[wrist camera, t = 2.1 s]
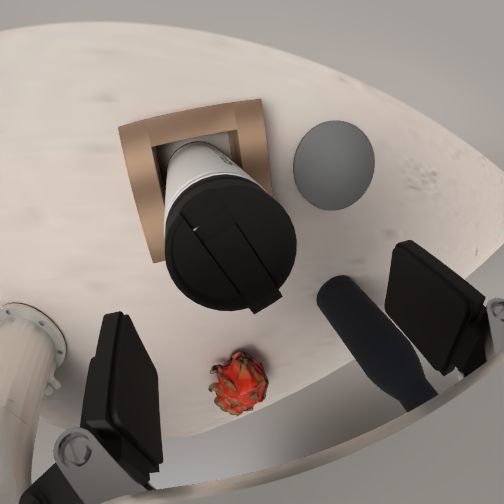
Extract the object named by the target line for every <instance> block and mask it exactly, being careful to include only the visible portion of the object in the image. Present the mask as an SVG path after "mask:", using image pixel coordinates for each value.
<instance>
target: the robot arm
mask: <svg viewBox="0 0 504 504" xmlns="http://www.w3.org/2000/svg"><path fill="white" fill-rule="evenodd" d="M484 300H485V296H483V295H482V294H481V293H480V292H479V291H478V290H476V289H475V288H474V287H473V286H471V285H470V284H469V283H468V282H467V281H465V280H464V279H463V278H462V277H460V276H459V275H458V274H456V273H455V272H454V271H453V270H451V269H450V268H449V267H447V266H446V265H445V264H444V263H442V262H441V261H440V260H438V259H437V258H436V257H434V256H433V255H432V254H430V253H429V252H427V251H426V250H425V249H423V248H422V247H421V246H419V245H418V244H416V243H415V242H414V241H412V240H407V241H404V242H400V243H398V244H396V246H395V248H394V249H393V252H392V260H391V267H390V274H389V281H388V287H387V294H386V299H385V311H386V313H387V314H388V316H389V317H390V318H391V319H392V320H393V321H394V322H395V323H396V325H397V326H398V327H399V328H400V329H401V330H402V331H403V332H404V334H405V335H406V336H407V337H408V338H409V339H410V341H411V342H412V343H413V344H414V345H415V346H416V348H417V349H418V350H419V351H420V352H421V353H422V355H423V356H424V357H425V358H426V359H427V361H428V362H429V363H430V364H431V365H432V367H433V368H434V369H435V370H437V371H440V372H441V374H442V375H443V376H445V375H447V374H448V373H450V372H451V371H453V370H454V368H455V366H456V367H457V368H458V383H456V384H454V385H453V386H451V387H450V388H448V389H447V390H445V391H444V392H442V393H441V394H439V395H437V396H436V397H434V398H432V399H431V400H429V401H427V402H426V403H424V404H422V405H420V406H419V407H417V408H415V409H413V410H411V411H410V412H408V413H406V414H404V415H403V416H401V417H399V418H397V419H395V420H393V421H391V422H389V423H387V424H385V425H383V426H381V427H379V428H376V429H374V430H372V431H370V432H368V433H366V434H363V435H361V436H359V437H357V438H354V439H352V440H350V441H347V442H345V443H342V444H340V445H337V446H335V447H332V448H329V449H327V450H324V451H322V452H319V453H316V454H313V455H311V456H307V457H304V458H301V459H298V460H295V461H292V462H289V463H286V464H283V465H279V466H275V467H272V468H268V469H264V470H260V471H256V472H253V473H249V474H244V475H239V476H235V477H230V478H226V479H221V480H216V481H210V482H205V483H199V484H192V485H186V486H178V487H172V488H167V489H166V488H165V489H158V490H156V489H155V488H154V487H153V486H152V485H151V484H150V483H149V480H150V475H149V473H154V472H159V464H161V463H163V452H162V441H161V428H160V413H159V393H158V375H157V371H156V369H155V367H154V365H153V363H152V361H151V359H150V357H149V355H148V353H147V351H146V349H145V347H144V345H143V343H142V341H141V339H140V337H139V335H138V333H137V331H136V329H135V327H134V325H133V323H132V321H131V318H130V317H129V315H124V314H123V313H122V312H121V311H119V312H114V313H110V314H105V315H104V317H103V321H102V326H101V330H100V335H99V340H98V344H97V349H96V354H95V357H93V358H92V359H91V361H90V365H89V370H88V376H87V381H86V387H85V393H84V400H83V407H82V414H81V422H80V428H72V429H68V430H67V431H65V432H63V433H62V434H61V435H60V436H59V437H58V439H57V441H56V443H55V445H54V450H53V452H54V459H55V461H56V463H55V464H53V466H51V467H50V468H49V469H48V470H47V471H46V472H45V473H44V474H43V475H42V476H41V477H40V478H38V479H37V481H35V482H34V483H33V484H32V483H31V469H32V458H33V449H34V443H35V436H36V430H37V426H38V420H39V415H40V411H41V406H42V402H43V397H44V394H45V395H46V396H51V395H52V394H53V393H54V389H53V388H52V386H53V387H54V388H55V389H56V390H57V389H59V388H60V387H61V384H60V383H59V382H58V380H57V379H56V378H55V377H54V373H55V369H57V368H58V367H59V366H60V365H61V364H62V363H63V361H64V358H65V355H66V345H65V341H64V339H63V336H62V334H61V333H60V331H59V329H58V328H57V327H56V326H55V324H54V323H53V322H52V321H51V320H50V319H49V318H48V317H46V316H45V315H44V314H42V313H41V312H39V311H37V310H36V309H34V308H32V307H29V306H27V305H23V304H18V303H11V304H6V305H4V306H2V307H1V308H0V504H504V299H501V298H494V299H491V300H490V301H489V302H488V303H487V305H486V307H485V306H484V305H483V303H484ZM48 382H50V384H51V385H52V386H51V385H50V384H49V383H48Z"/></svg>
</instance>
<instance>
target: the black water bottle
mask: <svg viewBox="0 0 504 504" xmlns="http://www.w3.org/2000/svg"><path fill="white" fill-rule="evenodd" d="M317 305H318V307H319V308H320V310H321V311H322V312H323V314H324V315H325V317H326V318H327V319H328V321H329V322H330V324H331V325H332V327H333V328H334V329H335V331H336V332H337V334H338V335H339V336H340V338H341V339H342V341H343V342H344V343H345V345H346V346H347V348H348V349H349V351H350V352H351V353H352V355H353V356H354V358H355V359H356V361H357V362H358V363H359V365H360V366H361V367H362V369H363V371H364V372H365V373H366V375H367V376H368V378H370V379H371V381H372V382H373V383H375V384H376V385H377V386H378V387H379V388H380V389H381V390H383V391H384V392H386V393H387V394H389V395H390V396H392V397H394V398H395V399H397V400H398V401H400V403H401V404H402V406H403V407H404V408H405V410H406V411H407V413H408V412H410V411H411V410H413V409H415V408H417V407H419V406H420V405H422V404H424V403H426V402H427V401H429V400H431V399H432V398H434V397H436V396H437V395H439V394H438V393H437V392H436V390H435V389H434V388H433V387H432V386H431V384H430V383H429V382H428V381H427V379H426V378H425V375H424V372H423V369H422V366H421V363H420V360H419V358H418V356H417V354H416V352H415V350H414V348H413V346H412V345H411V343H410V342H409V340H408V339H407V338H406V337H405V336H404V335H403V334H402V332H401V331H400V330H399V329H398V328H397V327H396V326H395V325H394V324H393V323H392V322H391V320H390V319H389V318H388V317H387V316H386V315H385V314H384V313H383V312H382V311H381V310H380V309H379V308H378V306H377V305H376V304H375V303H374V302H373V301H372V300H371V299H370V298H369V297H368V296H367V295H366V294H365V293H364V292H363V291H362V290H361V289H360V287H359V286H358V285H357V284H356V283H355V282H354V281H353V280H352V279H350V278H349V277H347V276H337V277H334V278H332V279H330V280H329V281H327V282H326V283H325V284H324V285H323V286H322V287H321V289H320V291H319V292H318V295H317Z"/></svg>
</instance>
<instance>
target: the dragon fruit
mask: <svg viewBox="0 0 504 504" xmlns="http://www.w3.org/2000/svg"><path fill="white" fill-rule="evenodd" d="M230 359H231V360H232V359H233V361H232V363H231V364H230V365H229V366H227V367H224V366H222V365H220V364H219V365H214V366H213V367H212V368H211V370H210V374H214V373H216V374H217V376H218V379H219V383H212V384H211V385H210V386H209V391H210V392H212V390H214V391H215V392H216V394H217V397H216V398H215V400H214V402H215V404H216V405H217V406H219V407H220V408H221V410H223V411H225V412H229V413H230V414H231V415H237V416H238V415H240V414H242V413H243V411H252V410H253V406H254V405H255V404H256V403H258V402H262V401H263V400H264V399H265V397H266V391H267V387H268V384H269V382H268V379H267V376H266V374H265V371H264V368H263V367H262V364H261V362H260V364H259V363H258V362H257V361H256V360H254V359H253V358H252V357H248V356H247V353H245V352H243V354H242V353H241V352H237V353H236V354H234V355H231V356H230V358H229V361H230ZM229 361H228V362H229ZM261 367H262V368H261ZM211 389H212V390H211Z"/></svg>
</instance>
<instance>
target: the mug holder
mask: <svg viewBox="0 0 504 504" xmlns="http://www.w3.org/2000/svg"><path fill="white" fill-rule="evenodd" d="M118 130H119V135H120V140H121V145H122V149H123V154H124V158H125V163H126V167H127V171H128V175H129V179H130V183H131V187H132V191H133V195H134V199H135V203H136V206H137V210H138V214H139V217H140V221H141V224H142V228H143V231H144V235H145V238H146V241H147V245H148V248H149V251H150V254H151V258H152V261H153V263H157V262H161V261H165V237H164V217H165V197H166V193H165V189H164V184H163V180H162V175H161V171H160V166H159V161H158V157H157V152H156V147H155V146H157V145H161V144H166V143H170V142H174V141H179V140H183V139H188V138H193V137H198V136H203V135H208V134H214V133H219V132H225V131H228V135H229V141H230V148H231V155H232V161H233V162H234V163H235V164H236V165H237V166H239V167H240V168H241V169H242V170H243V171H244V172H246V173H247V174H248V175H249V176H250V177H251V178H253V179H254V180H255V181H256V182H257V183H258V184H259V185H260V186H262V187H263V188H264V189H265V190H266V191H267V193H268V194H269V195H270V196H271V197H272V198H273V194H272V184H271V176H270V167H269V158H268V150H267V141H266V133H265V125H264V117H263V109H262V101H261V99H255V100H247V101H239V102H232V103H225V104H219V105H213V106H207V107H201V108H196V109H190V110H185V111H180V112H176V113H171V114H166V115H162V116H158V117H154V118H149V119H145V120H142V121H138V122H134V123H130V124H127V125H123V126H120V127H118Z"/></svg>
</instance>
